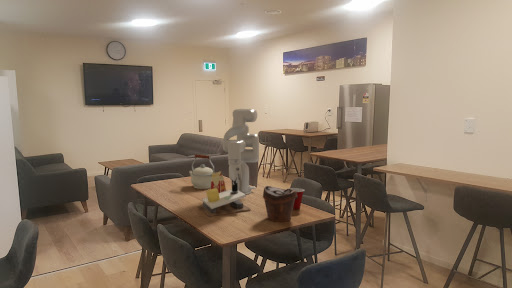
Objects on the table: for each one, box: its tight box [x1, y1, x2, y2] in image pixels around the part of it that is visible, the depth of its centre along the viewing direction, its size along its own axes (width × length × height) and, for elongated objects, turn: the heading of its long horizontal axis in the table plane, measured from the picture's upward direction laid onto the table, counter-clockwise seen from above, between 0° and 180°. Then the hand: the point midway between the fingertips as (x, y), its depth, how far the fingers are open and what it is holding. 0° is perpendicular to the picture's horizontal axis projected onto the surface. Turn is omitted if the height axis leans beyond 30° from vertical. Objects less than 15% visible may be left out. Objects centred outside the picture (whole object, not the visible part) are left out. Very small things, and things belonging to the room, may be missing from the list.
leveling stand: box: [198, 200, 251, 217], centre depth 219 cm, size 26×20×4 cm
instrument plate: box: [201, 188, 247, 209], centre depth 218 cm, size 22×18×8 cm
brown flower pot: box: [262, 185, 298, 223], centre depth 201 cm, size 18×20×18 cm
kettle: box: [188, 154, 215, 190], centre depth 277 cm, size 25×18×25 cm
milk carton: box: [210, 170, 227, 193], centre depth 238 cm, size 9×9×20 cm
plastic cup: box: [287, 187, 305, 210], centre depth 221 cm, size 11×11×12 cm
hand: (234, 191), depth 221 cm, fingers closed
